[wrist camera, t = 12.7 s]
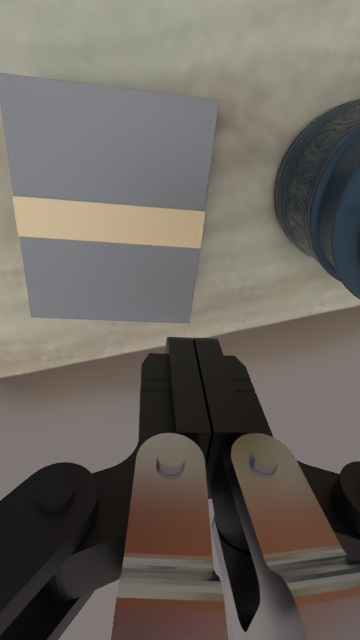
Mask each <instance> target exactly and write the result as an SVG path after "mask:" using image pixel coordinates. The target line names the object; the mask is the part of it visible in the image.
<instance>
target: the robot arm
mask: <svg viewBox="0 0 360 640" xmlns="http://www.w3.org/2000/svg"><path fill="white" fill-rule="evenodd" d="M140 391H141V392H140V415H139V442H138V445H137V447H136V449H135V450H134V452H133V453H132V454H131V455H130V456H129V457H128V458H127V459H126V460H124V461H123V462H122V463H120V464H118V465H116V466H114V467H111V468H108V469H105V470H102V471H99V472H95V473H92V474H91V473H90V472H89V471H88V470H87V469H86V468H84V467H83V466H81V465H78V464H74V463H65V462H64V463H56V464H52V465H49V466H46V467H44V468H42V469H40V470H38V471H37V472H35V473H34V474H33V475H31V476H30V477H29V478H28V479H26V480H25V481H24V482H23V483H21V484H20V485H19V486H18V487H17V488H16V489H14V490H13V491H12V492H11V493H9V494H8V495H7V496H6V497H4V498H3V499H2V500H1V501H0V640H58V639H59V638H60V636H61V635H62V634H63V632H64V631H65V630H66V628H67V627H68V626H69V624H70V623H71V622H72V620H73V619H74V617H75V616H76V615H77V614H78V612H79V611H80V610H81V608H82V607H83V606H84V604H85V603H86V602H87V601H88V599H89V598H90V597H91V595H92V594H93V592H94V590H96V589H98V588H100V587H102V586H105V585H107V584H109V583H111V582H113V581H116V580H118V579H119V584H118V590H117V597H116V605H115V613H114V620H113V627H112V635H111V640H228V633H227V622H226V612H225V602H224V595H223V589H222V585H221V581H220V578H219V576H218V575H216V573H215V570H214V565H213V556H212V543H211V532H210V531H211V530H210V518H209V505H208V499H212V501H213V507H214V513H215V514H214V518H213V523H212V534H213V540H214V544H215V549H216V553H217V557H218V562H219V566H220V571H221V575H222V580H223V584H224V589H225V593H226V598H227V602H228V606H229V611H230V616H231V620H232V624H233V629H234V635H235V640H360V462H352V463H349V464H347V465H346V466H345V467H343V469H342V471H341V473H340V474H337V473H334V472H330V471H326V470H323V469H320V468H316V467H312V466H309V465H306V464H304V463H301V462H299V461H297V460H296V458H295V457H294V455H293V453H292V452H291V451H290V450H289V448H288V447H287V446H286V445H284V444H283V443H282V442H280V441H279V440H277V439H275V438H274V437H273V435H272V433H271V430H270V428H269V425H268V422H267V420H266V417H265V415H264V412H263V410H262V407H261V405H260V402H259V400H258V397H257V395H256V393H255V390H254V387H253V384H252V383H251V379H250V377H249V374H248V372H247V369H246V367H245V366H244V365H243V364H242V363H241V362H240V361H239V360H238V359H237V358H236V357H235V356H224V355H223V353H222V350H221V347H220V344H219V341H218V339H213V338H193V339H192V338H183V337H167V341H166V353H165V354H154V353H149V355H148V356H147V358H146V359H145V360H144V362H143V363H142V370H141V390H140Z"/></svg>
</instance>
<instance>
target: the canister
mask: <svg viewBox="0 0 360 640" xmlns="http://www.w3.org/2000/svg"><path fill="white" fill-rule="evenodd" d="M275 204H276V210H277V214H278V218H279V220H280V223H281V225H282V228H283V230H284V232H285V233H286V235H287V236H288V238H289V239H290V240H291V242H292V243H293V244H294V245H296V246H297V247H298V248H299V249H300V250H301V251H303V252H304V253H306V254H307V255H309V256H311V257H313V258H314V259H316V260H317V261H318V262H319V263H320V264H321V265H322V267H323V268H324V269H325V270H326V271H327V272H328V273H329V274H330V275H331V276H333V277H334V278H335V279H337V280H339V281H341V282H342V283H343V284H344V286H345V287H346V288H347V289H348V290H349V291H350V292H351V293H352V294H353V295H354V296H356V297H357V298H359V299H360V99H358V100H354V101H350V102H347V103H345V104H342V105H340V106H338V107H336V108H334V109H332V110H330V111H329V112H327V113H325V114H324V115H322V116H320V117H319V118H318V119H316V120H315V121H314V122H312V123H311V124H310V125H309V126H308V127H307V128H306V129H305V130H304V131H303V132H302V133H301V134H300V135H299V136H298V137H297V139H296V140H295V141H294V143H293V144H292V146H291V147H290V149H289V150H288V152H287V154H286V156H285V158H284V160H283V162H282V165H281V167H280V170H279V174H278V177H277V182H276V189H275Z"/></svg>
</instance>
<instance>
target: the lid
mask: <svg viewBox="0 0 360 640" xmlns="http://www.w3.org/2000/svg"><path fill="white" fill-rule="evenodd" d="M0 103H1V110H2V117H3V124H4V131H5V138H6V145H7V152H8V158H9V165H10V172H11V179H12V186H13V193H14V196H12V197H13V204H14V211H15V217H16V224H17V231H18V236H20V242H21V249H22V256H23V263H24V270H25V277H26V284H27V291H28V298H29V305H30V312H31V317H35V318H61V319H88V320H114V321H140V322H166V323H190V318H191V310H192V302H193V295H194V287H195V280H196V272H197V265H198V257H199V249H200V248H201V242H202V234H203V227H204V219H205V204H206V196H207V189H208V181H209V173H210V166H211V158H212V151H213V143H214V135H215V128H216V120H217V113H218V105H219V100H213V99H205V98H197V97H189V96H181V95H173V94H165V93H157V92H149V91H141V90H133V89H125V88H117V87H109V86H101V85H93V84H85V83H77V82H69V81H61V80H53V79H45V78H37V77H29V76H21V75H13V74H5V73H0Z"/></svg>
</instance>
